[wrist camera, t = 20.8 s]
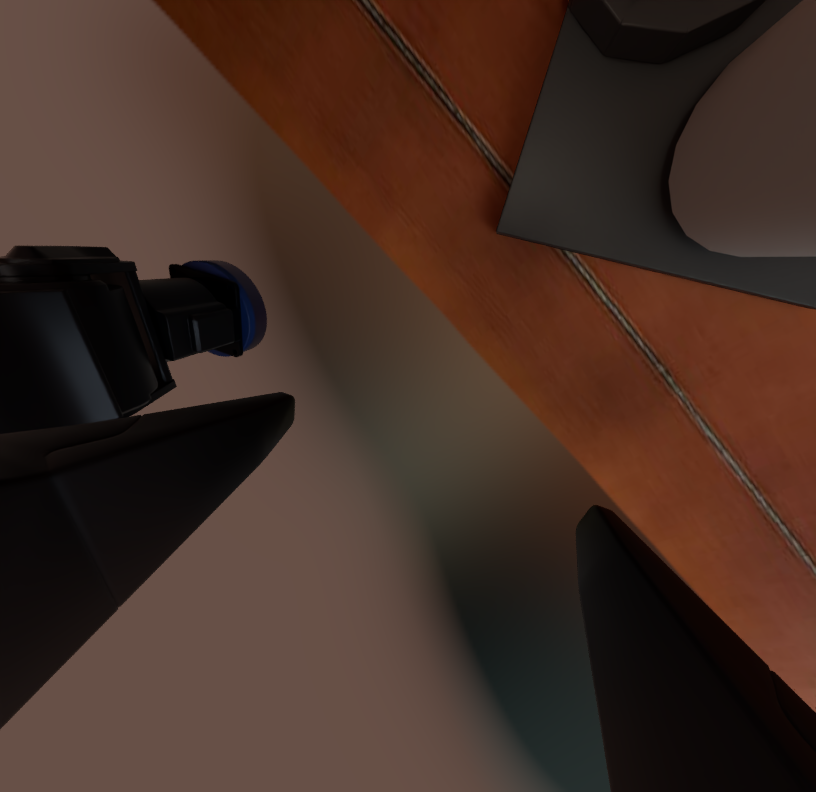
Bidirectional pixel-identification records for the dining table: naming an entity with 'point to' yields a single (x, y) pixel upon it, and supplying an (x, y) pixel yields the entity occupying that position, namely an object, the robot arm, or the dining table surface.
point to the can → (754, 149)
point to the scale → (637, 139)
